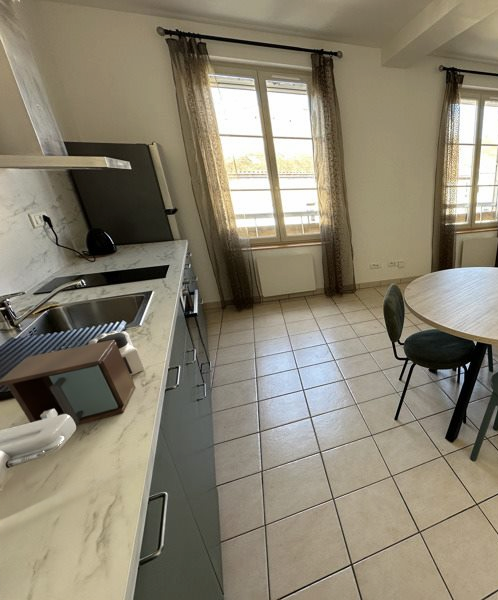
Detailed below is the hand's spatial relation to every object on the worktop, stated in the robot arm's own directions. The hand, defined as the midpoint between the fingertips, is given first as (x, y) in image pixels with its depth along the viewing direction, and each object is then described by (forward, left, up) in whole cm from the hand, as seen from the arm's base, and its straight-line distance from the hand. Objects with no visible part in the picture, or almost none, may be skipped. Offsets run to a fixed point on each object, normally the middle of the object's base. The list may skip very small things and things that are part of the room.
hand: (19, 420), depth 63 cm
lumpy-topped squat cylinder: (-3, +52, -14) cm, 54 cm away
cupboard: (-1, +23, -14) cm, 27 cm away
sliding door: (+2, +15, -13) cm, 20 cm away
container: (+3, +39, -14) cm, 42 cm away
